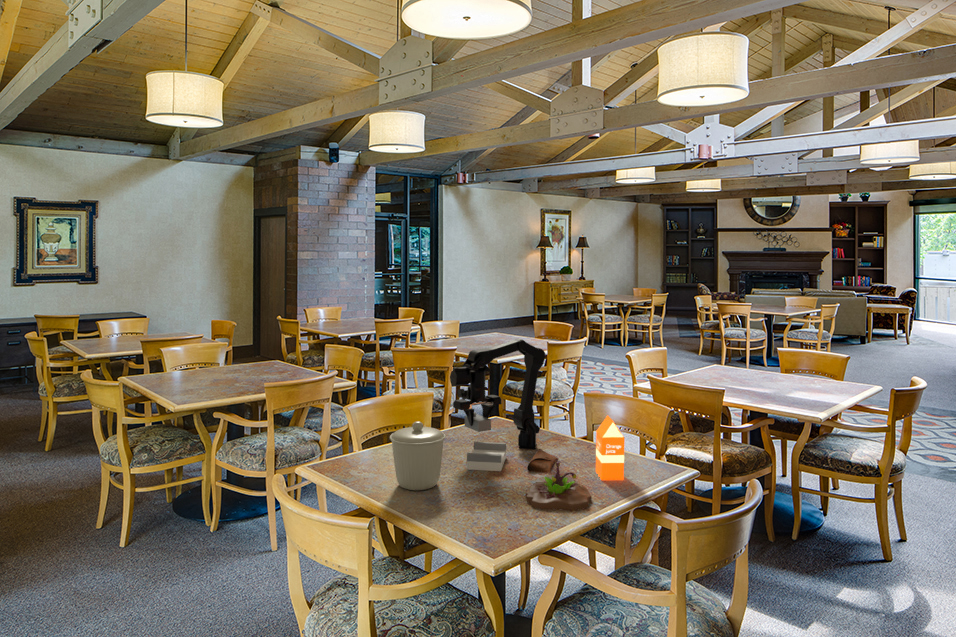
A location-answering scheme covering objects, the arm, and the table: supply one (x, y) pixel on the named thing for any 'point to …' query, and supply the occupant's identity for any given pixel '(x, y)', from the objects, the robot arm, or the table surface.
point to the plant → (558, 493)
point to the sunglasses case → (541, 462)
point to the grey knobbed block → (479, 423)
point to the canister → (417, 456)
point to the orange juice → (609, 451)
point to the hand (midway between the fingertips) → (477, 424)
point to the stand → (487, 456)
